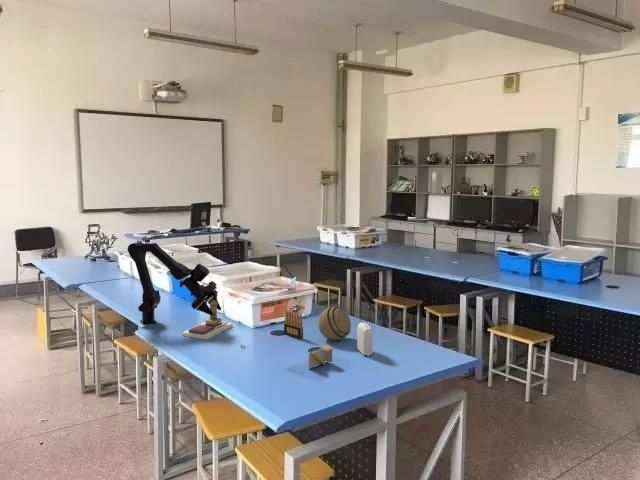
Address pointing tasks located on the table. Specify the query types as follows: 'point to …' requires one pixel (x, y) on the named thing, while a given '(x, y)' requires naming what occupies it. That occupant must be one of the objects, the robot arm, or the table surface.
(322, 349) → the model
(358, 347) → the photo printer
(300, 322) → the ammunition clip
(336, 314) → the brown grooved ball
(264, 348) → the table surface
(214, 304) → the stamp
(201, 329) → the ink pad
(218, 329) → the stamping board
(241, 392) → the table surface
